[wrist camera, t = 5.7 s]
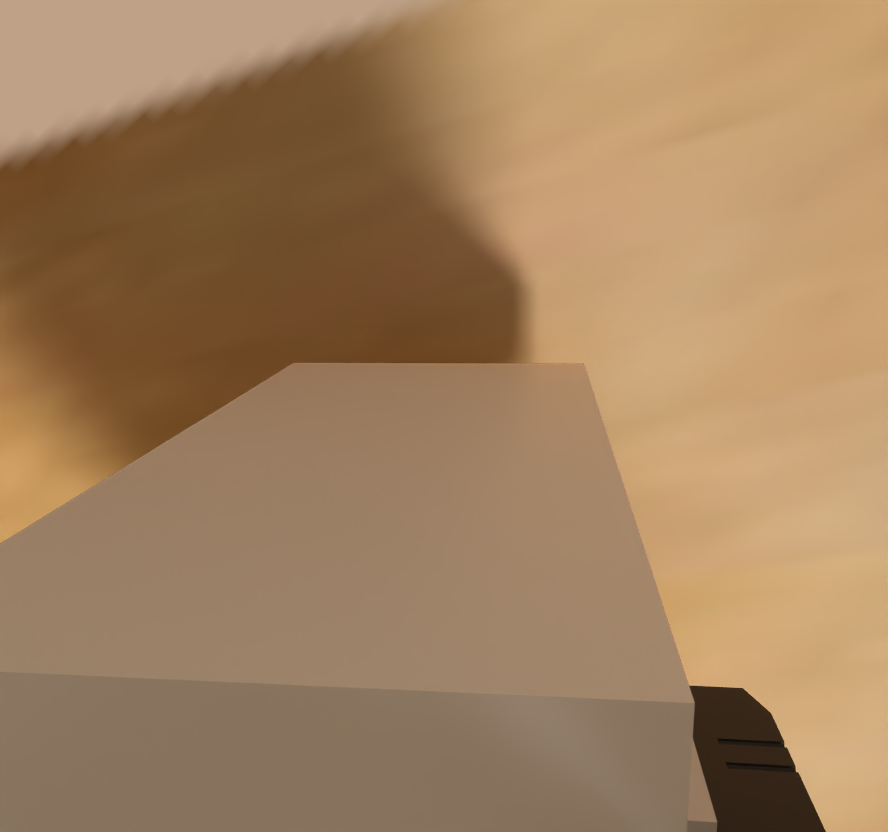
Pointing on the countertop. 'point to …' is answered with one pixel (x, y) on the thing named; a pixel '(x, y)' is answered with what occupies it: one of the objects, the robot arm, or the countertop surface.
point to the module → (349, 621)
